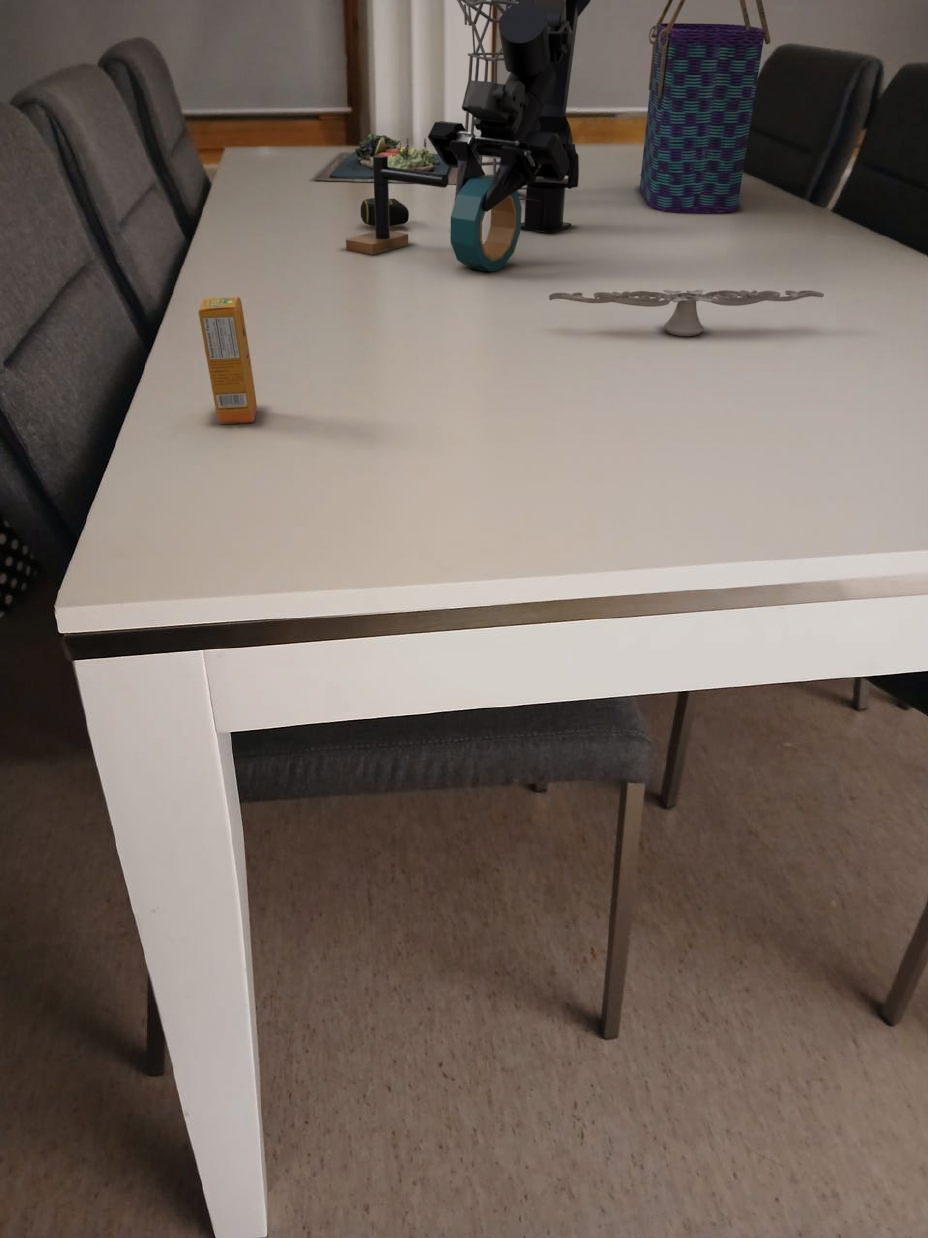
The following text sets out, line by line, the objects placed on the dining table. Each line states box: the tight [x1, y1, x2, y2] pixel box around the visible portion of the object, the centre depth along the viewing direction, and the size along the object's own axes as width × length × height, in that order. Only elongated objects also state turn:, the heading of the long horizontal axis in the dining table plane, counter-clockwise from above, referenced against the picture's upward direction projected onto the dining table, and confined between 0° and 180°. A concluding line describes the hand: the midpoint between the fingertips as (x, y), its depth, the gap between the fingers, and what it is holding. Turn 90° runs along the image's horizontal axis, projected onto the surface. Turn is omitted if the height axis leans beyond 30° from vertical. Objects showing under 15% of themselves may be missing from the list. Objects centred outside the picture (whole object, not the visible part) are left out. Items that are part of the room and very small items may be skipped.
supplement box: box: [197, 296, 258, 425], centre depth 82 cm, size 3×3×10 cm
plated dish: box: [314, 132, 458, 185], centre depth 194 cm, size 35×28×7 cm
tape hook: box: [373, 155, 449, 239], centre depth 132 cm, size 2×12×12 cm, turn 55°
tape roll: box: [449, 176, 523, 273], centre depth 126 cm, size 11×4×11 cm, turn 145°
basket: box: [639, 0, 771, 215], centre depth 161 cm, size 26×18×40 cm
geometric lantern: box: [456, 0, 538, 202], centre depth 160 cm, size 16×16×35 cm
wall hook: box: [548, 289, 825, 337], centre depth 106 cm, size 5×30×4 cm, turn 94°
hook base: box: [345, 230, 409, 256], centre depth 138 cm, size 8×5×2 cm, turn 145°
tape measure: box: [360, 197, 410, 228], centre depth 149 cm, size 7×7×4 cm
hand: (470, 207), depth 122 cm, fingers closed on tape roll, 4 cm apart
